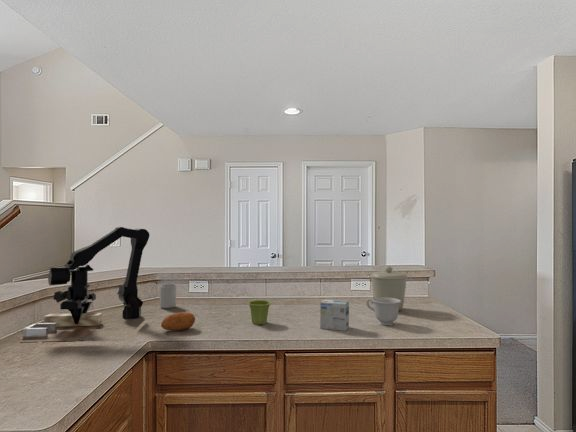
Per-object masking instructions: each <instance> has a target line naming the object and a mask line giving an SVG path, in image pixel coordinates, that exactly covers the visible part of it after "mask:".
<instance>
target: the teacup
mask: <svg viewBox="0 0 576 432" xmlns="http://www.w3.org/2000/svg"><path fill="white" fill-rule="evenodd" d="M365 302H366V307H367V308H368V309H369V310H371V311H373V312H374V316H375V318H376V319H377V321H379V324H380V325H382V326H387V325H389V326H393V325H394V322H395V321H397V319H398V317H399V311H400V310H399V304H400V302H401V300H399V299H395V298H388V297H378V298H373V297H372V298H371V297H368V298H367V299H366V301H365ZM369 302H371V304H372V305H373V307H372V306H371V305H370V303H369ZM398 310H399V311H398Z"/></svg>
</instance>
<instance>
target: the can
mask: <svg viewBox="0 0 576 432" xmlns="http://www.w3.org/2000/svg"><path fill="white" fill-rule="evenodd" d="M159 290H160V292H159V295H160V296H159V306H160V308H161V309H165V310H166V309H174V308H175V306H176V305H177V304H176V303H177V302H176V301H177V285H176V283H175V282H163V283H161V285H160V287H159Z"/></svg>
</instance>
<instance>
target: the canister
mask: <svg viewBox="0 0 576 432" xmlns="http://www.w3.org/2000/svg"><path fill="white" fill-rule="evenodd" d="M369 276H370V279H371V287H372V299H373V298H378V297H388V298H395V299H399V300H401V302H400V304H399V310H398V312H399V311H401V310H402V309H403V306H404V304H405V303H404V302H405V295H406V286H407V279H408V277H409V276H408V275H406V274H405V273H403V272H398V271H393V267H391V266H389V265H387V266H385V267H384V271H382V270H381V271H375V272H373V273H371V274H370V275H369Z"/></svg>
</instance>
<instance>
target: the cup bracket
mask: <svg viewBox="0 0 576 432" xmlns="http://www.w3.org/2000/svg"><path fill="white" fill-rule="evenodd" d="M56 331H57V323H44V322H36V323H33V324H30V325H28V326H26V327H25V328H22V337H23V338H30V337H47V336H48V332H56ZM30 339H31V338H30Z"/></svg>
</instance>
